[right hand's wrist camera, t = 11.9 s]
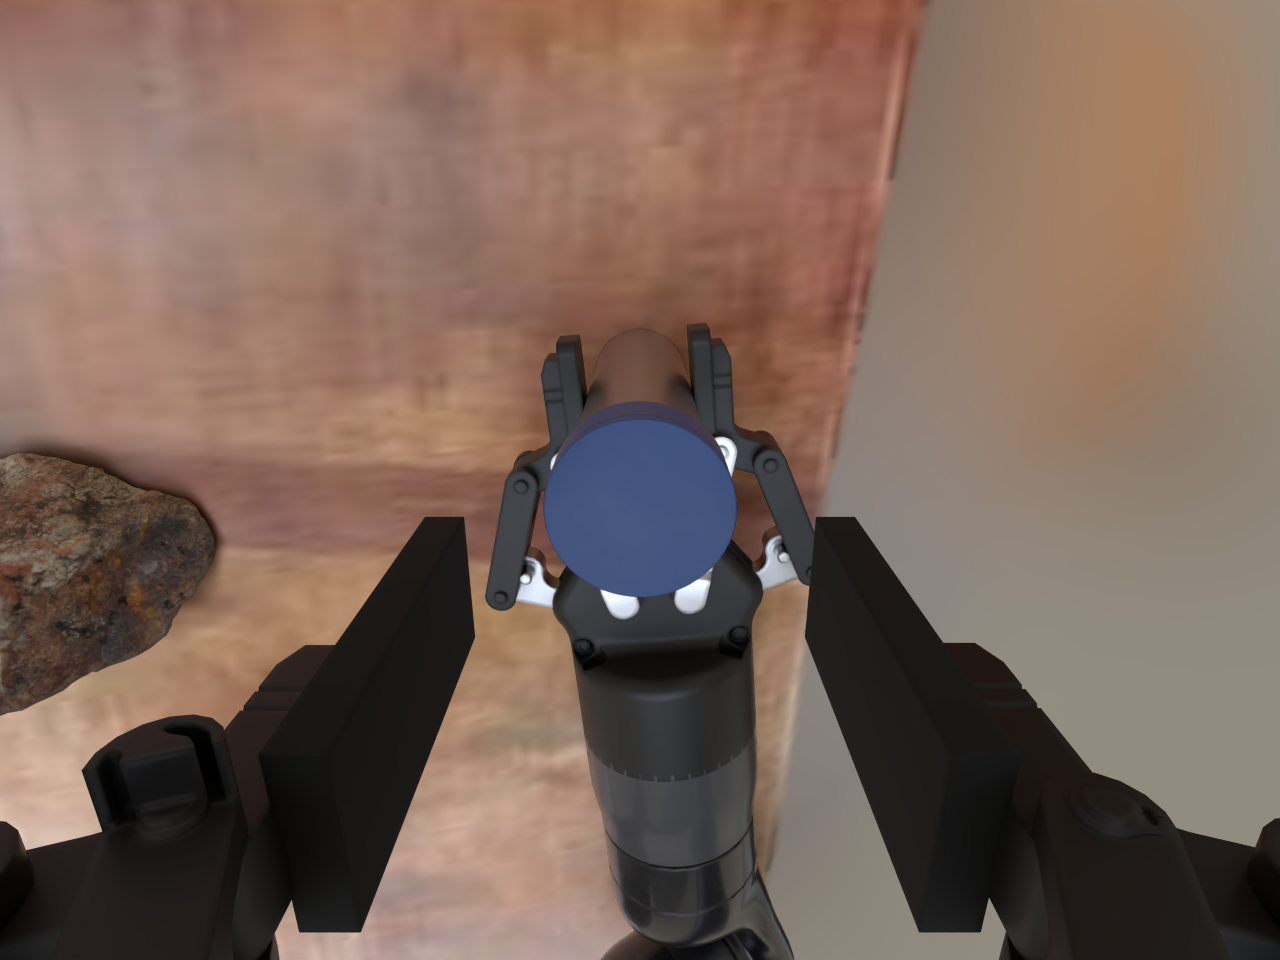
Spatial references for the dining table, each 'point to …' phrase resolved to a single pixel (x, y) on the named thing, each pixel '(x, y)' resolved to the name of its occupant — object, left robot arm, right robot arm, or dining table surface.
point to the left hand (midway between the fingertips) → (632, 335)
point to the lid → (640, 500)
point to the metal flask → (640, 374)
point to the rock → (86, 572)
